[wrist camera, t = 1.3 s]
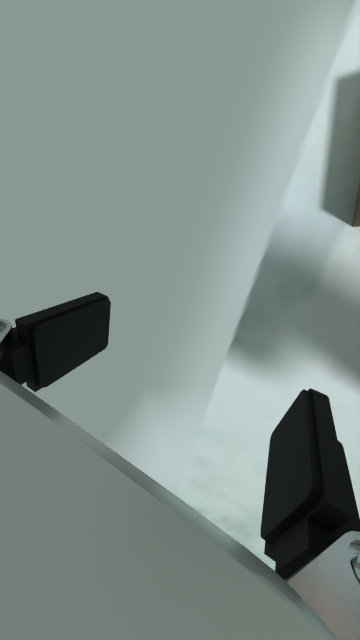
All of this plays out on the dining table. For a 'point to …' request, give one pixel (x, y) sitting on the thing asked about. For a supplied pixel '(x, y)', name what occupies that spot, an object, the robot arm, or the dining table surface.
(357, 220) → the board
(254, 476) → the dining table surface
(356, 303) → the dining table surface
